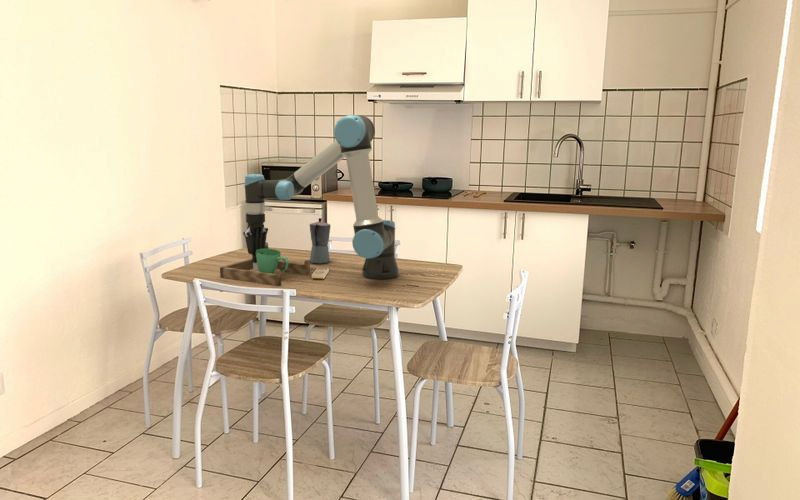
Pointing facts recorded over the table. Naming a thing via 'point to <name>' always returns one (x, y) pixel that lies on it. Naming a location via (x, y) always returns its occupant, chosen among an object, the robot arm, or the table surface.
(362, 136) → the robot arm
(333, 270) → the table surface
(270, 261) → the mug
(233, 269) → the bay
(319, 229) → the moka pot
